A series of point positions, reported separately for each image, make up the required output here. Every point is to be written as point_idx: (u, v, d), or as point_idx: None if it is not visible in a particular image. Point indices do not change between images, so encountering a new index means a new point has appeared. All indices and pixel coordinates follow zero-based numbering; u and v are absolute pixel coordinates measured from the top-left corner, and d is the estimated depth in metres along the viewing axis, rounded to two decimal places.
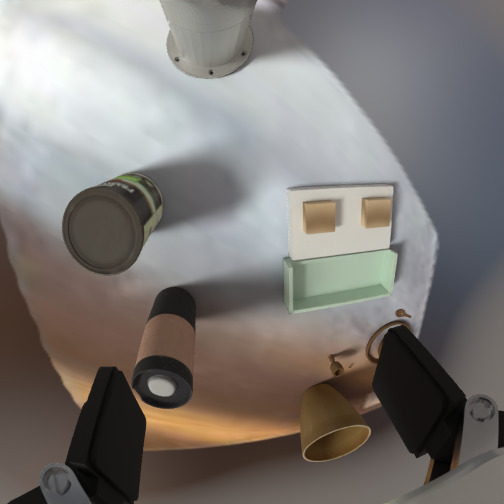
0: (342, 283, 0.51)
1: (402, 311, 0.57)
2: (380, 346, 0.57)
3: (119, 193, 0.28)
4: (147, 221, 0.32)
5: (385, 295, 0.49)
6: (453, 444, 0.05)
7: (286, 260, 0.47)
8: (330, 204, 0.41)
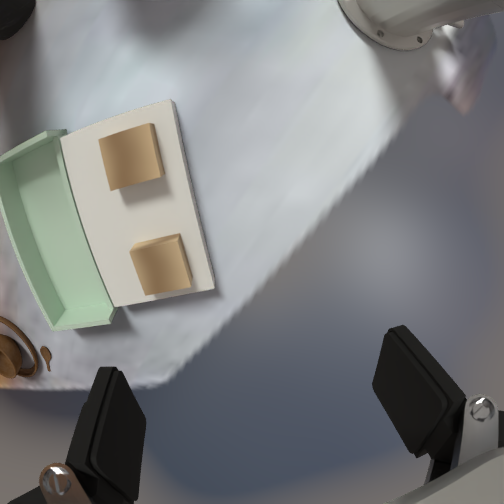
0: (47, 243, 0.26)
1: (49, 356, 0.33)
2: None
3: None
4: None
5: (48, 320, 0.26)
6: (453, 444, 0.05)
7: (61, 132, 0.22)
8: (155, 168, 0.21)
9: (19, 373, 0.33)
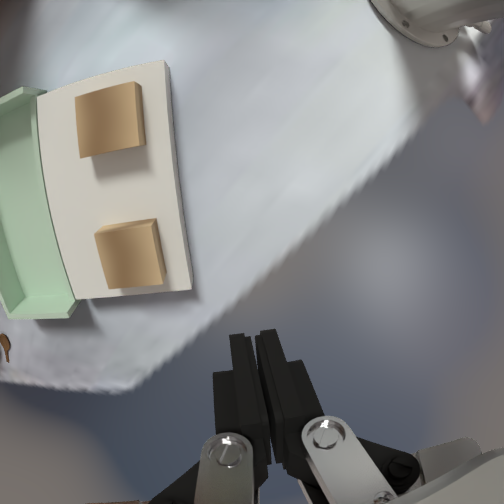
0: (11, 218, 0.21)
1: (7, 345, 0.26)
2: None
3: None
4: None
5: (4, 306, 0.20)
6: None
7: (40, 92, 0.17)
8: (134, 134, 0.17)
9: None
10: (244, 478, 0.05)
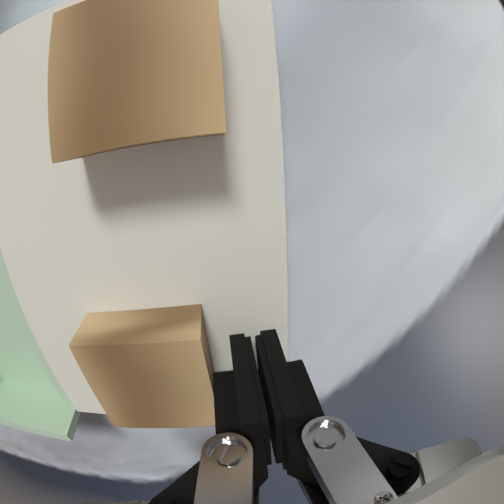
0: None
1: None
2: None
3: None
4: None
5: None
6: None
7: None
8: (212, 101, 0.06)
9: None
10: (244, 478, 0.05)
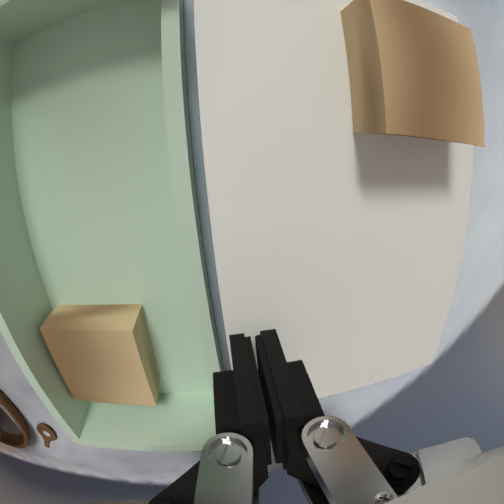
0: (63, 254, 0.11)
1: (52, 436, 0.16)
2: None
3: None
4: None
5: (66, 429, 0.10)
6: None
7: None
8: (478, 123, 0.07)
9: None
10: (244, 478, 0.05)
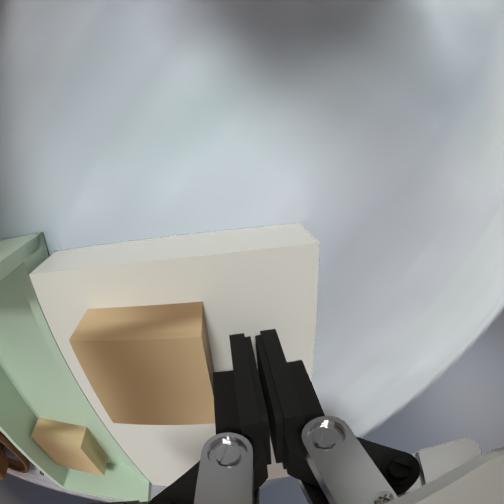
0: (35, 398, 0.14)
1: None
2: None
3: None
4: None
5: (55, 481, 0.13)
6: None
7: (32, 247, 0.10)
8: (210, 410, 0.10)
9: None
10: (244, 478, 0.05)
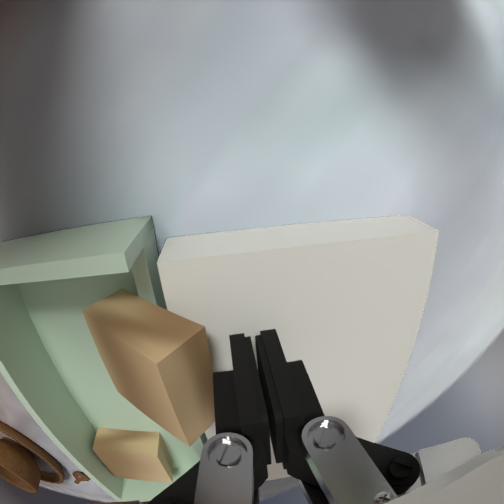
0: (100, 406, 0.14)
1: (85, 478, 0.19)
2: (7, 449, 0.14)
3: None
4: None
5: (112, 495, 0.14)
6: None
7: (147, 232, 0.10)
8: (181, 431, 0.09)
9: None
10: (244, 478, 0.05)
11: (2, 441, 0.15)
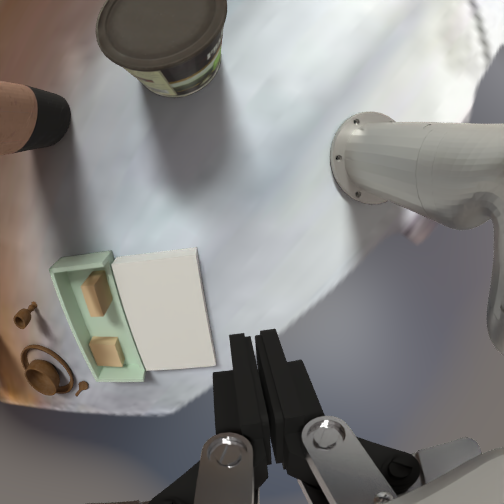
0: (94, 323, 0.38)
1: (85, 387, 0.43)
2: (45, 364, 0.39)
3: (213, 38, 0.17)
4: (164, 76, 0.20)
5: (94, 375, 0.38)
6: None
7: (109, 255, 0.34)
8: None
9: None
10: (244, 478, 0.05)
11: (42, 360, 0.39)
